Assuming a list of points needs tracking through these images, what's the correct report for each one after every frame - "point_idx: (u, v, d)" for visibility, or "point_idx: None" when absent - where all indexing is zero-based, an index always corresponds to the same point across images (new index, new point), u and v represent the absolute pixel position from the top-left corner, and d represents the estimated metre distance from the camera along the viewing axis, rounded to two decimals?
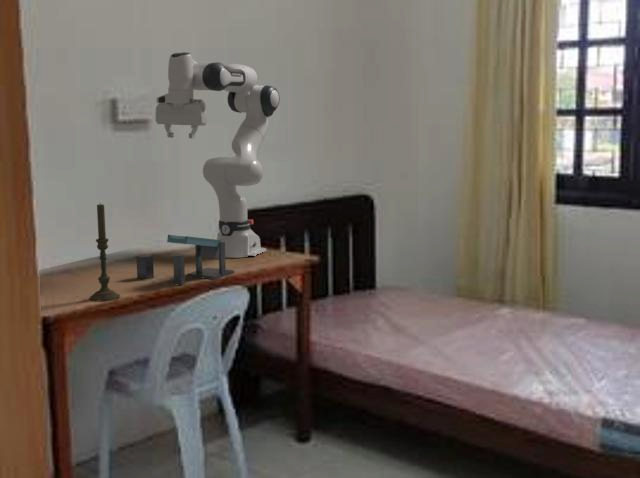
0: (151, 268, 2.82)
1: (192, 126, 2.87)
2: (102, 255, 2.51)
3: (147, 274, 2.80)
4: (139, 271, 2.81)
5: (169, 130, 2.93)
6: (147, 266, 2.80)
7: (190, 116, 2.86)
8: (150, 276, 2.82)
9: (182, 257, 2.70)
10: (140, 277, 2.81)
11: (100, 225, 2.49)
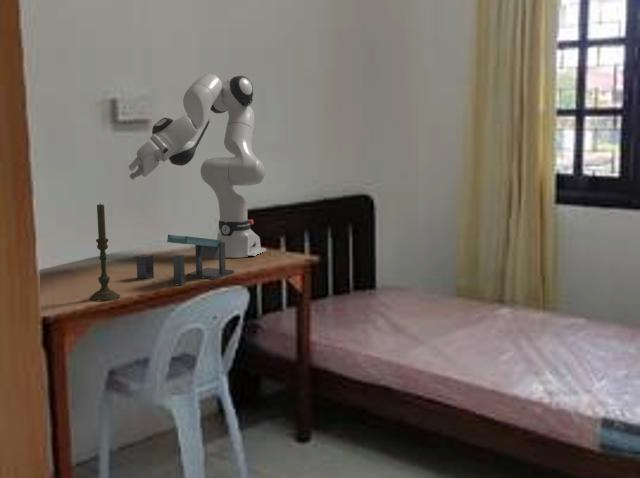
0: (151, 268, 2.82)
1: (141, 173, 2.93)
2: (102, 255, 2.51)
3: (147, 274, 2.80)
4: (139, 271, 2.81)
5: None
6: (147, 266, 2.80)
7: (150, 168, 2.94)
8: (150, 276, 2.82)
9: (182, 257, 2.70)
10: (140, 277, 2.81)
11: (100, 225, 2.49)
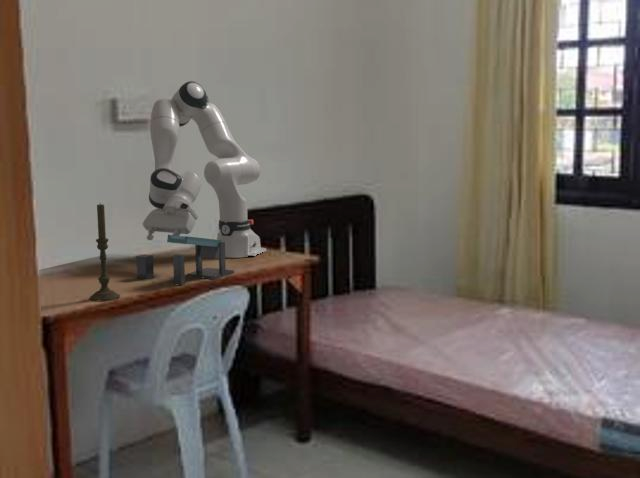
0: (151, 268, 2.82)
1: None
2: (102, 255, 2.51)
3: (147, 274, 2.80)
4: (139, 271, 2.81)
5: None
6: (147, 266, 2.80)
7: None
8: (150, 276, 2.82)
9: (182, 257, 2.70)
10: (140, 277, 2.81)
11: (100, 225, 2.49)
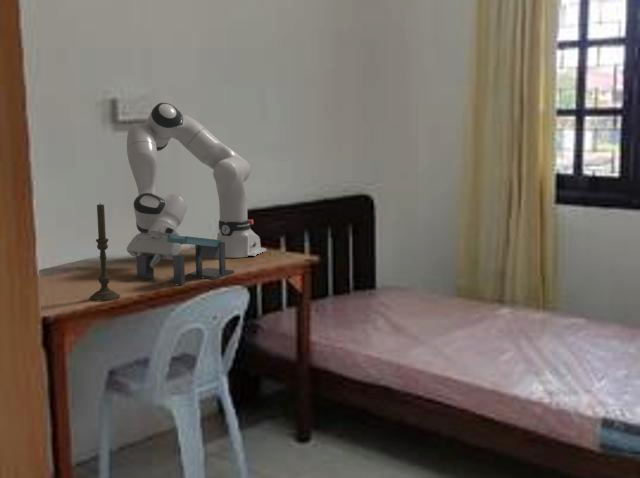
0: (151, 268, 2.82)
1: None
2: (102, 255, 2.51)
3: (147, 274, 2.80)
4: (139, 271, 2.81)
5: None
6: (147, 266, 2.80)
7: None
8: (150, 276, 2.82)
9: (182, 257, 2.70)
10: (140, 277, 2.81)
11: (100, 225, 2.49)
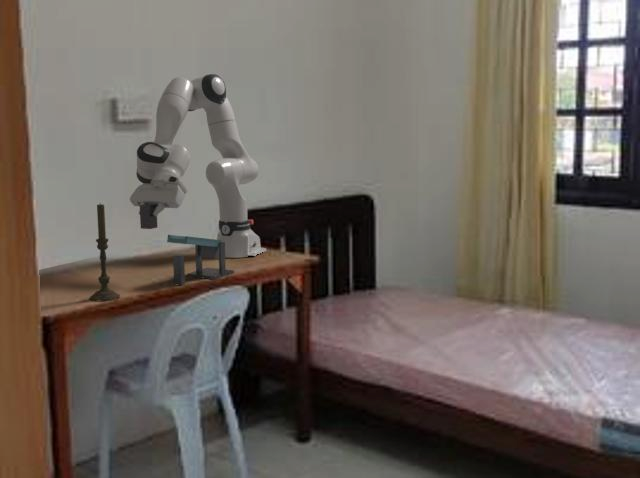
0: (155, 217, 2.78)
1: None
2: (102, 255, 2.51)
3: (151, 223, 2.76)
4: (143, 220, 2.77)
5: None
6: (151, 215, 2.76)
7: None
8: (154, 225, 2.78)
9: (182, 257, 2.70)
10: (143, 226, 2.77)
11: (100, 225, 2.49)
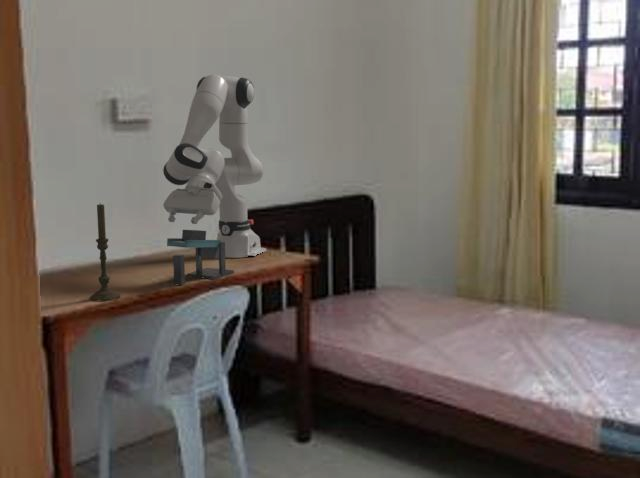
0: (197, 239, 2.76)
1: None
2: (102, 255, 2.51)
3: (195, 232, 2.75)
4: None
5: None
6: (200, 234, 2.77)
7: None
8: (193, 237, 2.74)
9: (182, 257, 2.70)
10: None
11: (100, 225, 2.49)
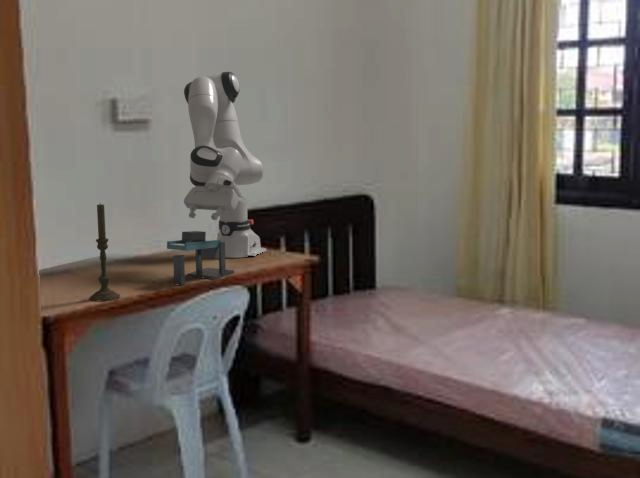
0: (197, 240, 2.76)
1: None
2: (102, 255, 2.51)
3: (194, 234, 2.75)
4: (190, 231, 2.77)
5: None
6: (199, 235, 2.77)
7: None
8: (192, 239, 2.74)
9: (182, 257, 2.70)
10: None
11: (100, 225, 2.49)
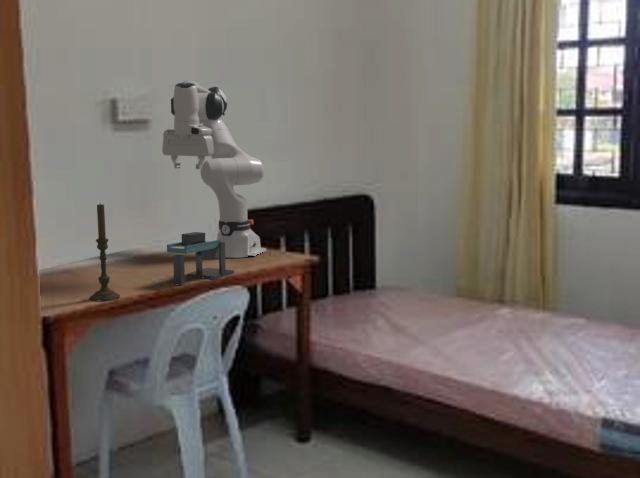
0: (197, 242, 2.76)
1: None
2: (102, 255, 2.51)
3: (194, 236, 2.74)
4: (189, 233, 2.77)
5: None
6: (199, 236, 2.77)
7: None
8: (192, 241, 2.74)
9: (182, 257, 2.70)
10: (186, 234, 2.75)
11: (100, 225, 2.49)
